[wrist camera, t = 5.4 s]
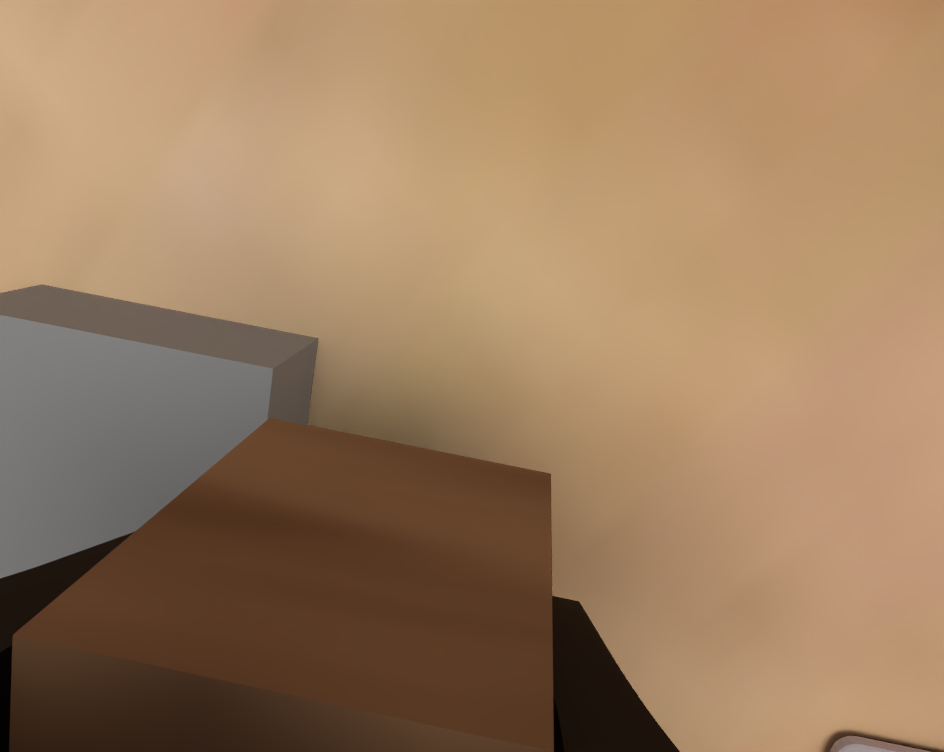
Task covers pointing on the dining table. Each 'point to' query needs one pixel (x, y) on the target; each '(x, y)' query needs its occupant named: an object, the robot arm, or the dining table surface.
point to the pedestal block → (124, 412)
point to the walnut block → (307, 611)
